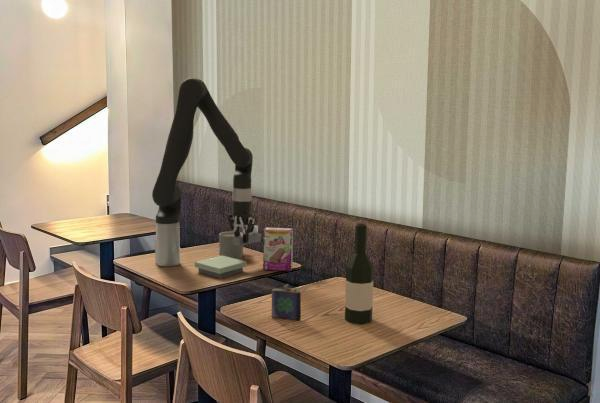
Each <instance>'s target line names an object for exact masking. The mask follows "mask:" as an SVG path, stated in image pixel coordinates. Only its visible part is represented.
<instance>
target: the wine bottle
mask: <svg viewBox="0 0 600 403" xmlns="http://www.w3.org/2000/svg"><path fill="white" fill-rule="evenodd" d="M354 229H355V232H354V233H355V236H354V238H355V239H354V253H353V255H352V257H351V258H350V259H349V262H348V263H347V265H346V266H345V268H346V270H345V296H344V297H345V301H344V302H345V303H344V305H345V306H344V310H345V311H344V320H345V321H346V322H347V323H349V324H352V325H353V324H354V325H366V324H370V323H371V322H372V320H373V306H374V305H373V302H374V272H375V270H374V267H375V265H374V264H373V263H372V261H371V259H370V257H369V256H368V254H367V240H368V239H367V238H368V237H367V235H368V233H367V232H368V225H366V222H365V221H364V222H363V221H362V222H361V221H360V222H359V221H357V222H356V224H355V228H354Z"/></svg>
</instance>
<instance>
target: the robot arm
mask: <svg viewBox="0 0 600 403" xmlns="http://www.w3.org/2000/svg"><path fill="white" fill-rule="evenodd" d="M177 96H178V97H177V102H176V103H177V104H176V108H175V113H174V117H173V119H172V123H171V126H170V130H169V133H168V137H167V141H166V144H165V149H164V154H163V157H162V160H161V167H160V170H159V173H158V176H157V177H156V180H155V183H154V187H153V189H152V193H151V194H152V200H153V202H154V204H155V205H156V206H158V211H157V213H156V215H155V240H154V249H155V250H154V251H155V252H154V254H155V264H156V265H157V266H159V267H176V266H178V265H180V264H181V253H180V252H181V247H180V246H181V241H180V240H181V237H180V217H181V213H182V212H181V211H182V191H181V188H180V186H179V185H178V184H177V180H178V176H179V174H180V172H181V170H182V168H183V166H184V164H185V162H186V160H187V158H188V156H189V154H190V150H191V147H192V143H193V140H194V118H195V115H196V111H197V109H198V110H200V112H201V113H202V114H203V115H204V117H205V119H206V121H207V122H208V125H209V127H210V129H211V131H212V132H213V135H214V136H215V137H216V138H217V141H219V142H220V144H221V145H222V146H223V147H224V150H225V152H226V153H227V155H228V157H229V158H230V160H231V162H233V164H234V165H235V166H234V175H233V180H232V194H231V196H232V197H231V198H232V199H231V201H232V203H231V205H232V206H231V207H232V209H231V210H232V214H228V215H227V219H228V223H229V224H228V225H229V228H230V230H231V231H234V236H239V235H240V232H241V229H242V233H243V243H248V241H249V233H251V232H253V229H254V226H255V225H256V222H257V220H256V218H253V217H252V216H251V211H252V205H253V204H252V200H253V199H252V198H253V196H252V170H253V161H254V160H253V158H254V157H253V153H252V151H251V150H250V149H249V148H247V147H244V146H245V145H244V144H242V142H241V141H240V138H239V136H238V133H237V132H236V130H234V128H233V127H232V125H231V124H230V123H229V121H228V120H227V119H226V117H225V115H224V114H223V113H222V112H221V110H220V109H219V107H218V105H217V104H216V103H215V100H214V98H212V94H211V93H210V91H209V89H208V87H207V85H206V84H205V82H204V81H203V80H201V79H199V78H194V77H192V78H191V77H190V78H186V79H185V80H183V81H182V82H181V84H180V86H179V90H178V95H177ZM250 228H251V229H250Z"/></svg>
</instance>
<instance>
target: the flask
mask: <svg viewBox="0 0 600 403" xmlns="http://www.w3.org/2000/svg"><path fill="white" fill-rule="evenodd" d="M289 286H290V284H289V283H286V284H285V285H283V288H273V289H271V318H272V319H276V320H283V321H285V320H286V321H293V322H300V321H301V316H302V315H301V313H302V312H301V311H302V310H301V305H302V304H301V303H302V300H301V295H302V293H301V291H300V290H297V289H294V288H292V287H289Z"/></svg>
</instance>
